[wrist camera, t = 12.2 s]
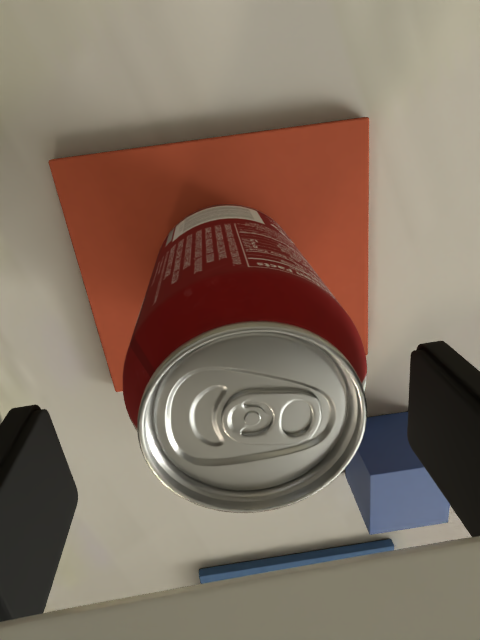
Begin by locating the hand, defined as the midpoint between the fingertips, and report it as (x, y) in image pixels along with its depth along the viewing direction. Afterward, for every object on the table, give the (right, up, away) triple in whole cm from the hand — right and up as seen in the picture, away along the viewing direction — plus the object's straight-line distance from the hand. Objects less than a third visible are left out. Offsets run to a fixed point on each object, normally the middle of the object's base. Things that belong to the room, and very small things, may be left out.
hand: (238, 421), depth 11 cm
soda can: (-1, +5, +10) cm, 11 cm away
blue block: (+9, -5, +16) cm, 19 cm away
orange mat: (-1, +5, +11) cm, 12 cm away
